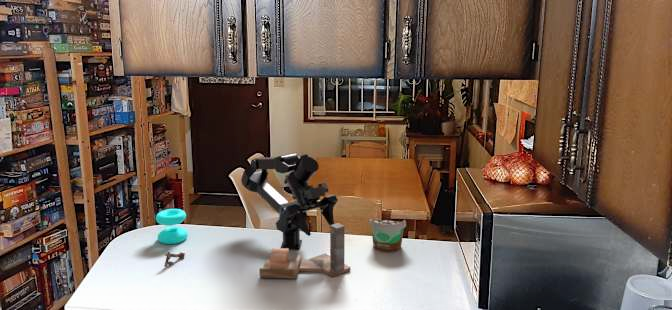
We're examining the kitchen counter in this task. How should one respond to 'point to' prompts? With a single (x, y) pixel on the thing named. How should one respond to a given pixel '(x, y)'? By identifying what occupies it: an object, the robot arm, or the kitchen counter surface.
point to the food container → (387, 234)
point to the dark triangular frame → (173, 256)
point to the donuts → (171, 233)
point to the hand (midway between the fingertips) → (321, 231)
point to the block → (279, 258)
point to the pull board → (315, 260)
